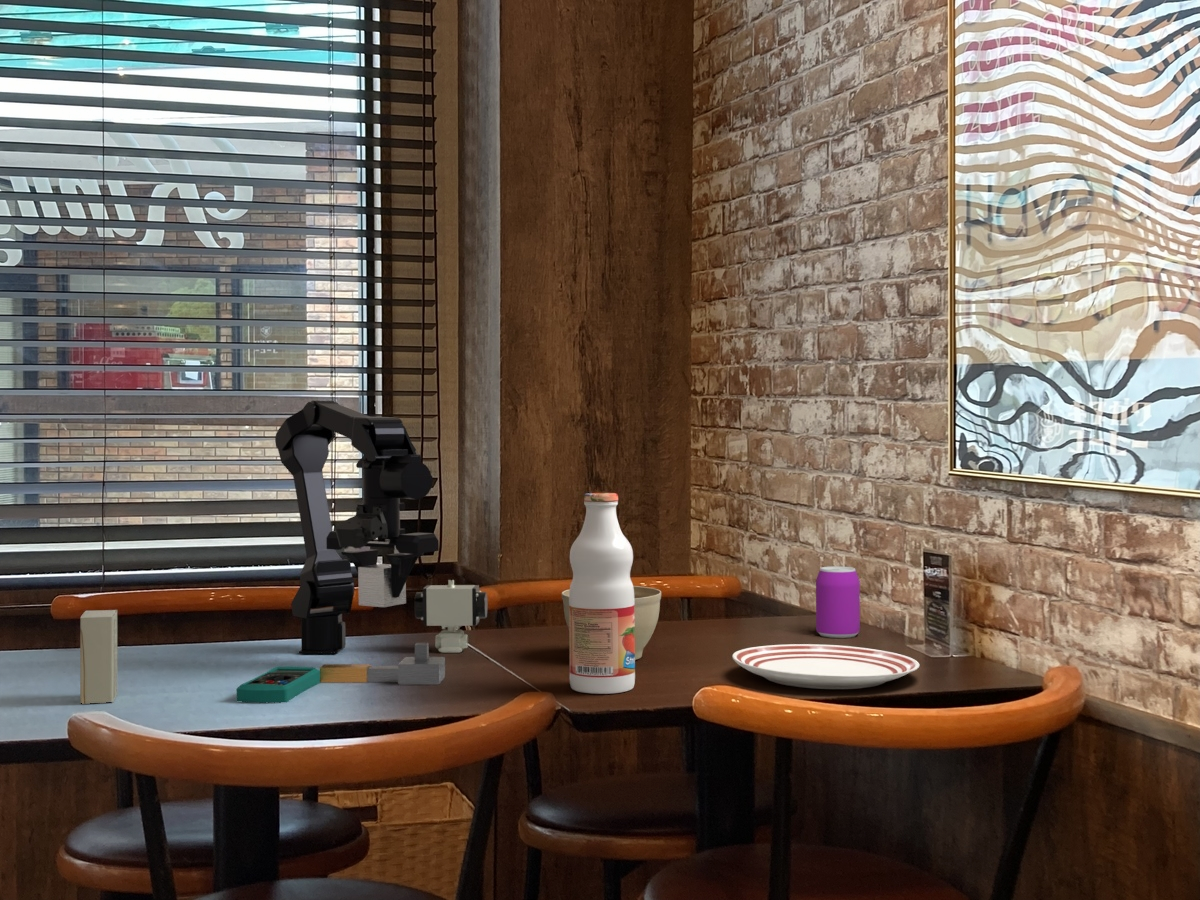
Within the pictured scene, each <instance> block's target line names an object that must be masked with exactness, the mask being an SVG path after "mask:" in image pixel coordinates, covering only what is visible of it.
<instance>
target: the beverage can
mask: <svg viewBox="0 0 1200 900" xmlns="http://www.w3.org/2000/svg"><path fill="white" fill-rule="evenodd" d="M860 585H861V584H860V579H859V576H858V573H857V570H856V568H855V567H853V566H852V567H851V566H838V565H837V566H833V565H831V566H823V567H819V572H818V573H817V577H816V579H815V630H816V633H818V634H819V635H820V636H821V637H823V638H831V639H850V638H851V639H852V638H854V637H856V636H857V634H859V632H860V629H861V628H860V626H861V625H860V623H861V622H860V621H861V620H860V619H861V618H860V617H861V616H860V615H861V613H860V610H861V609H860V607H861V606H860V601H861V599H860V598H861V597H860V594H861V593H860V589H861V588H860Z"/></svg>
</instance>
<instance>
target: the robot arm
mask: <svg viewBox="0 0 1200 900" xmlns="http://www.w3.org/2000/svg"><path fill="white" fill-rule="evenodd" d="M336 434H338V435H340V436H343V437H346V438H348V439H349V440H351V444H350V445H351V446H352V447H353V448H354V449H356V450H357V451H358V452H359V453H361V454H362V455H363V456H362V458H360V459H359V460H358V461H357V463H356V465H355V466H356V468H358V469H362V503H358V504H357V506H356V507H355V510H356V511H355V515H354V516H351V517H349V518H347V519H345V520H344V521H343V522H341V523H339V524H338V525H336V526H335V528H334V531H333V527H332V520H331V515H330V509H329V503H328V497H327V491H326V485H325V479H324V475H323V469H324V467H325V464H326V461H327V459H328V457H329V454H330V453H329V452H330V451H329V445H330V444H331V442H332V441H333V440H334V439H335V437H336ZM274 439H275V441H274V442H275V447H276V449H277V451H278V454H279V459H280V462H281V464H282V465H283V466H284V468H286V470H287V471H288V472H289V473H290V474H291V476H292V477H293V481H294V488H295V489H294V490H295V494H296V500H297V501H296V502H297V507H298V508H297V509H298V512H299V513H298V514H299V519H300V520H299V521H300V524H301V531H302V537H303V542H304V543H303V544H304V548H305V556H306V560H305V562H304V565H303V567H302V569H301V572H300V574H299V578H300V579H299V582H300V586H299V587H298V590H297V592H296V593H295V595H294V596H293V599H292V601H291V603H290V607H291V612H292V616H293V617H297V618H300V623H301V624H300V625H301V626H300V628H301V629H300V630H301V631H300V632H301V633H300V634H301V635H300V637H301V639H300V640H301V648H300V649H299V650H298V654H302V655H303V654H304V655H305V654H308V655H309V654H311V655H313V654H316V655H318V654H320V655H321V654H338V653H340V652H341V651H342V650H343V649H345V648H346V641H347V640H346V639H347V638H346V637H347V636H346V622H345V621H343V614H350V613H351V610H352V605H353V602H354V601H353V600H354V595H355V589H356V588H355V584H354V583H355V581H354V578H353V574H352V566H351V565H352V564H351V562H352V563H353V565H354V567H355V570H356V572H357V573H358V567H362V566H369V565H376V564H378V557H379V549H372V548H386V549H387V548H390V549H393V553H391V554H390V553H388V554H385V557H386V559H387V561H388V562H389V564H391V580H392V594H393V598H397V597H399V596H400V594H401V591H402V589H403V587H404V585H405V582H406V583H407V579H408V577H409V575H410V574H411V571H412V569H413V568H414V566H415V564H416V562H417V560H418V559H419V557H423V556H424V554H426V553H432V552H439V550H440V545H439V544H440V543H439V538H438V537H437V535H436V534H435V533H434V532H412V533H411V532H410V533H406V529H405V528H401V510H403V511H404V510H406V503H405V502H401V500H400V499H406V500H420V499H423V498H424V497H426V496H428V494H429V493H430V491H431V489H432V486H433V483H434V481H433V475H432V474H431V473H432V472H431V471H430V470H431V469H429V467H428V466H427V465H426V464H425V463H423V462H422V455H421V454H417V452H416V451H417V449H416V448H415V445H414V443H412V440H411V438H410V435H409V433H408V431H407V428H406V427H405V425H404V422H403V421H402V419H400V418H399V417H392V416H391V417H389V416H369V415H367V414H365V413H361V412H359V411H357V410H354V409H351V408H349V407H346V406H344V405H341V404H339V403H338V402H337V401H336V402H335V401H334V400H311V401H308V402H307V403H306V404H305V405H304V407H303V408H302V409H301V410H299V411H297V412H295V413H294V414H292V415H291V416H289V417H287V418H286V419H284V421H283V423H282V424H281V426H280V427H279V428H278V430H277V431H276V432H275V438H274ZM343 549H344V550H343ZM338 550H340V553H341V555H342V556H345V557H347V558H344V559H343V558H342V557H341V555H340V554H338V552H337V551H338ZM341 550H343V551H341ZM349 560H350V561H351V562H350V561H349Z"/></svg>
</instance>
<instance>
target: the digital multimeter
mask: <svg viewBox="0 0 1200 900" xmlns="http://www.w3.org/2000/svg"><path fill="white" fill-rule="evenodd" d="M320 683H321V682H320V669H319V668H316V667H311V666H275V667H273V668H271V669H270V670H268V671H266V672H265V673H261V674H260V675H258V676H256V677H254V678H251V679H250V680H248V681H246V682H244V683H241V684H240V685H239V686H237V688H236V702H237V701H242V702H241V703H248V702H259V703H258V704H270V703H269V702H274V703H273V704H276V703H275V702H279V703H278V704H281V702H286V703H287V702H290V701H291V700H292V699H294V698H296V697H297V696H298V695H300V694H302V693H304V692H305V691H307V690H309V689H311V688H313V687H315V686H317V685H319V684H320ZM295 696H296V697H295ZM289 700H290V701H289ZM263 702H264V703H263ZM266 702H268V703H266Z"/></svg>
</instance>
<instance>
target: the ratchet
mask: <svg viewBox="0 0 1200 900" xmlns="http://www.w3.org/2000/svg"><path fill="white" fill-rule="evenodd" d="M429 644H430V643H429V642H416V643H415V644H414V656H405V657H404V658H403V659H402V660H401V661H400V662H399V663H398V664H397V665H371V664H367V663H363V664H362V663H361V664H360V663H359V664H358V663H357V664H355V663H351V664H349V663H348V664H340V663H338V664H337V663H336V664H328V663H327V664H322V665H321V666H320V667H319V670H320V683H397V684H398V686H399V685H404V686H406V685H408V686H409V685H410V686H411V685H412V686H414V685H415V686H416V685H417V686H418V685H419V686H420V685H422V686H423V685H425V686H426V685H429V686H431V685H432V686H433V685H434V686H438V685H440V684H441V683H442V681H443V680H444V679H445V678H446V657H445V656H429V655H430V651H429V650H430V648H429V647H430V645H429Z"/></svg>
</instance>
